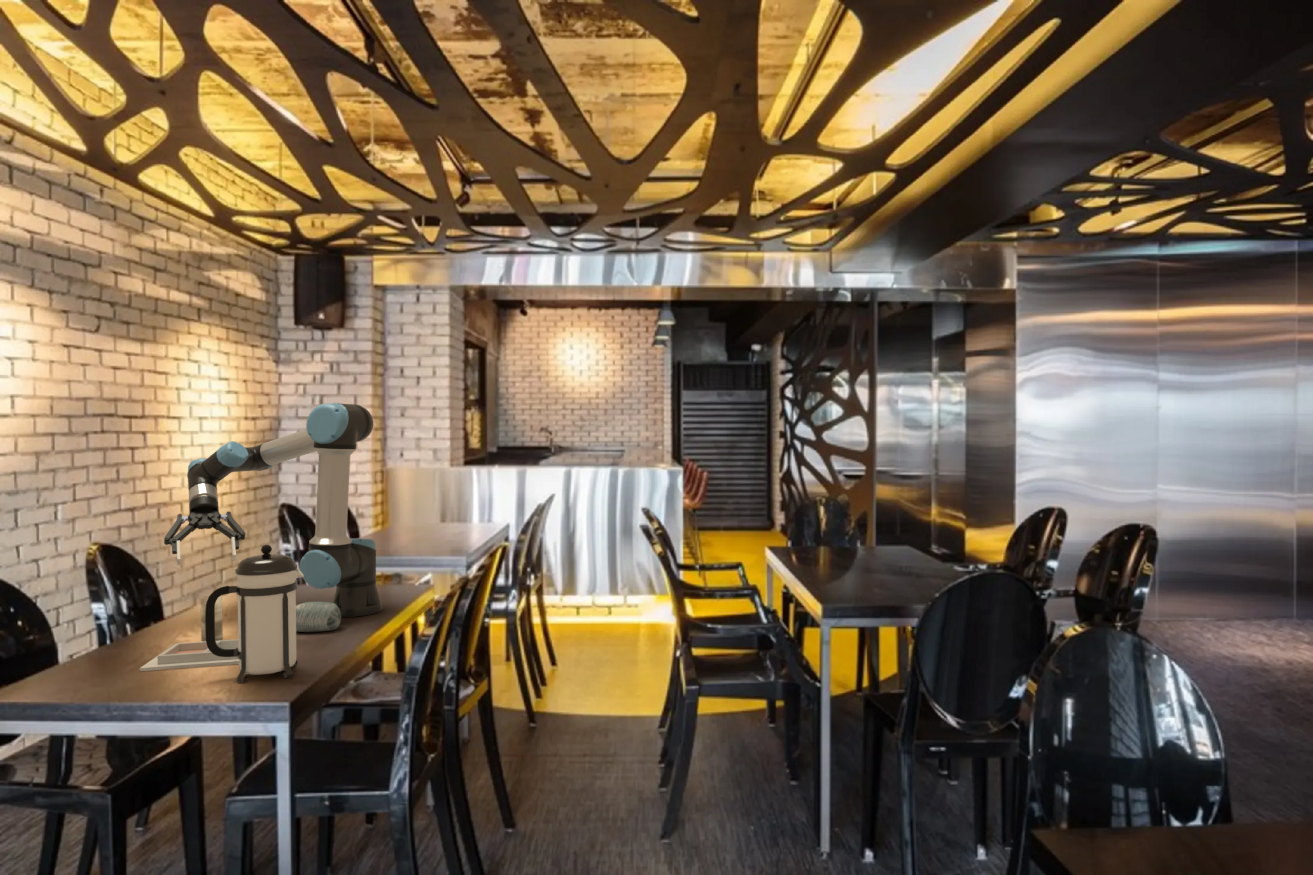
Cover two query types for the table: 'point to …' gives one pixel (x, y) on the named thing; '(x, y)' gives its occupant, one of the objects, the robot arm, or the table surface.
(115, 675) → the table surface
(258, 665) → the coffee press
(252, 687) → the table surface
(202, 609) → the peg
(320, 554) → the robot arm
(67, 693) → the table surface
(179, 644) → the white flat tray
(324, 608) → the yarn ball
